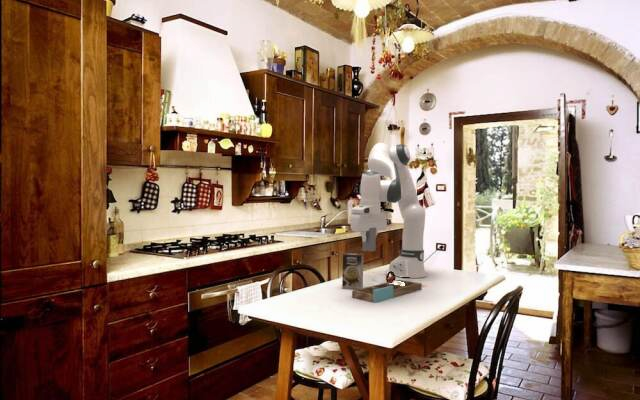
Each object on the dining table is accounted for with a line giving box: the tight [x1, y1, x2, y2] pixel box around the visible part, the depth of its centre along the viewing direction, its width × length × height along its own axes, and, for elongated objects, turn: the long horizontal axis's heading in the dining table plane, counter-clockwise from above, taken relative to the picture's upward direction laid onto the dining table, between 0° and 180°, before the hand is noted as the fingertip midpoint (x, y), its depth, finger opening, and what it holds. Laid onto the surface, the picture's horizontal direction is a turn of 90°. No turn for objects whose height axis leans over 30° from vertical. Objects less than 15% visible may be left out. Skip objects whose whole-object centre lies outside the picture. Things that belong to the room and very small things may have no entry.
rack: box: [351, 279, 422, 304], centre depth 204 cm, size 12×35×5 cm, turn 135°
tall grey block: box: [361, 228, 377, 252], centre depth 197 cm, size 4×4×10 cm
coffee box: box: [341, 252, 364, 290], centre depth 216 cm, size 9×6×16 cm
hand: (368, 241), depth 197 cm, fingers closed on tall grey block, 4 cm apart
